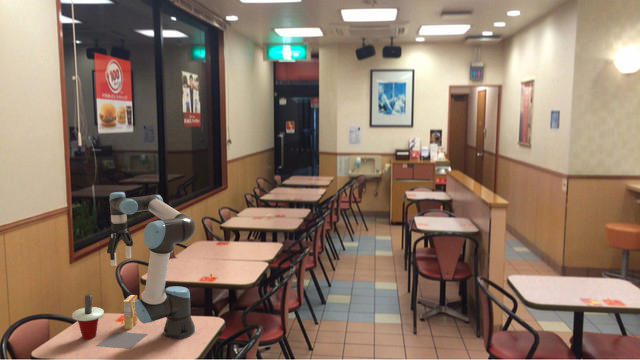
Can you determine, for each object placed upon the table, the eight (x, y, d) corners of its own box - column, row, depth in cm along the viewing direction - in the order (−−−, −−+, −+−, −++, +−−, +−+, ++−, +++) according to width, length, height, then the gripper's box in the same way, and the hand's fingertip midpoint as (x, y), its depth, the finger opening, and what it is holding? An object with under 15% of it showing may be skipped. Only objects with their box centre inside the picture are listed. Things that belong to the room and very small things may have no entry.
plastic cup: (92, 343, 237) (90, 319, 236) (72, 341, 240) (71, 318, 238) (106, 334, 248) (105, 311, 246) (87, 332, 250) (85, 309, 249)
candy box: (131, 322, 261) (129, 294, 259) (139, 322, 261) (137, 294, 259) (124, 329, 253) (122, 301, 251) (132, 329, 253) (131, 301, 251)
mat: (148, 335, 246) (148, 334, 246) (130, 350, 231) (130, 348, 231) (115, 332, 249) (115, 331, 249) (95, 347, 234) (95, 345, 234)
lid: (109, 311, 248) (109, 292, 246) (92, 322, 234) (92, 302, 233) (84, 307, 250) (84, 288, 249) (65, 318, 236) (65, 298, 235)
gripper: (126, 217, 269) (128, 254, 272) (97, 227, 245) (100, 268, 248) (138, 217, 268) (140, 255, 270) (111, 227, 243) (114, 269, 246)
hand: (121, 261), depth 259 cm, fingers open, 13 cm apart
